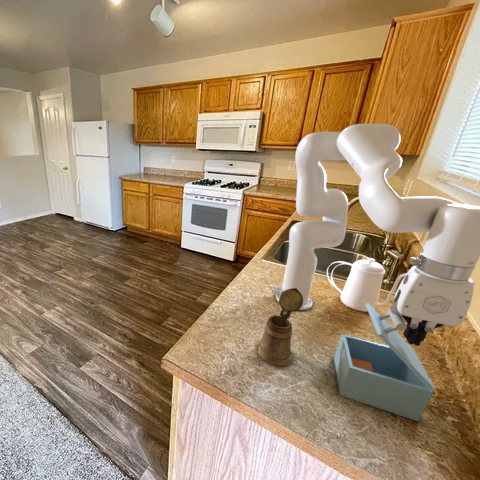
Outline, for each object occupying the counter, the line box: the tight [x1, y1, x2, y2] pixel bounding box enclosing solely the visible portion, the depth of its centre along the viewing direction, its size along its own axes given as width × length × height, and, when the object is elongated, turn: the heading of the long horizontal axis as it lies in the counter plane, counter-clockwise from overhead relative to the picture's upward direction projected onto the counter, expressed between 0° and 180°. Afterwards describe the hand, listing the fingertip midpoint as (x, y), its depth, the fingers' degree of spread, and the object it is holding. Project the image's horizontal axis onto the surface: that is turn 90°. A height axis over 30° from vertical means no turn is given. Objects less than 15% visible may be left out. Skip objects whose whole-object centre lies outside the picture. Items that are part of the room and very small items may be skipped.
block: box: [351, 357, 374, 372], centre depth 66 cm, size 4×4×4 cm
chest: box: [333, 333, 434, 422], centre depth 65 cm, size 15×13×9 cm
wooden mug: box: [257, 288, 303, 367], centre depth 74 cm, size 9×14×18 cm, turn 136°
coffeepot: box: [326, 257, 407, 313], centre depth 96 cm, size 11×25×19 cm, turn 44°
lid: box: [365, 303, 437, 392], centre depth 59 cm, size 15×13×5 cm
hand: (411, 340), depth 59 cm, fingers closed
